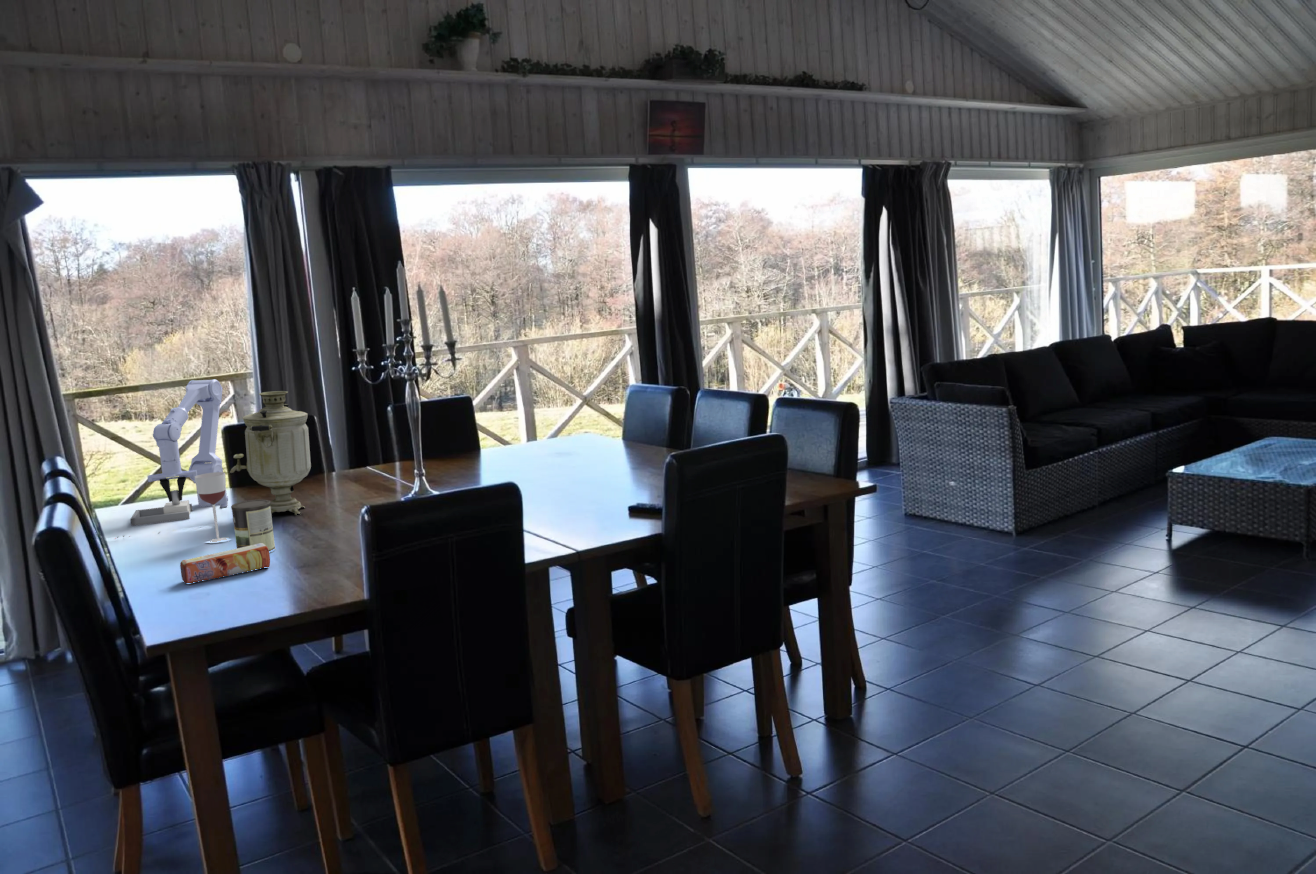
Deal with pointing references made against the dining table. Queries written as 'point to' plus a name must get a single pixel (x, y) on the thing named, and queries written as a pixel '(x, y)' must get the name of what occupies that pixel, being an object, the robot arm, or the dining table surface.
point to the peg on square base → (176, 504)
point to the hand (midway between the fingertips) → (175, 500)
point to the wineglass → (212, 492)
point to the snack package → (225, 563)
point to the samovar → (277, 449)
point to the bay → (157, 516)
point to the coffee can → (253, 523)
